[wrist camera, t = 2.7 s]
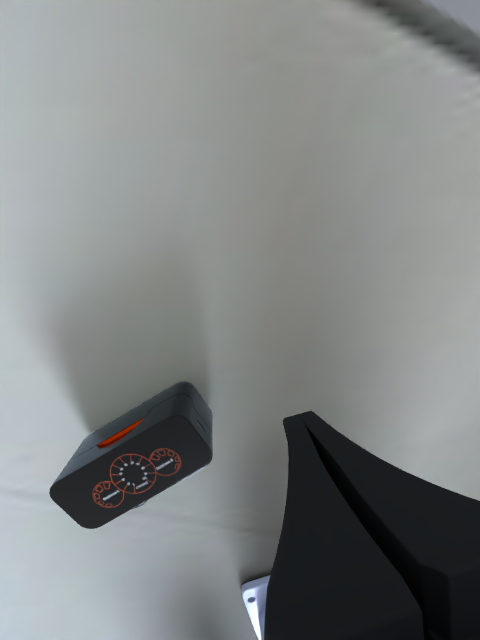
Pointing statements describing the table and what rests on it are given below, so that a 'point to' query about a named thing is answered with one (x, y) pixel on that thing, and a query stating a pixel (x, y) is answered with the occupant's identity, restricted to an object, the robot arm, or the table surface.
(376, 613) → the robot arm
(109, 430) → the black rounded block
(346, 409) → the table surface
